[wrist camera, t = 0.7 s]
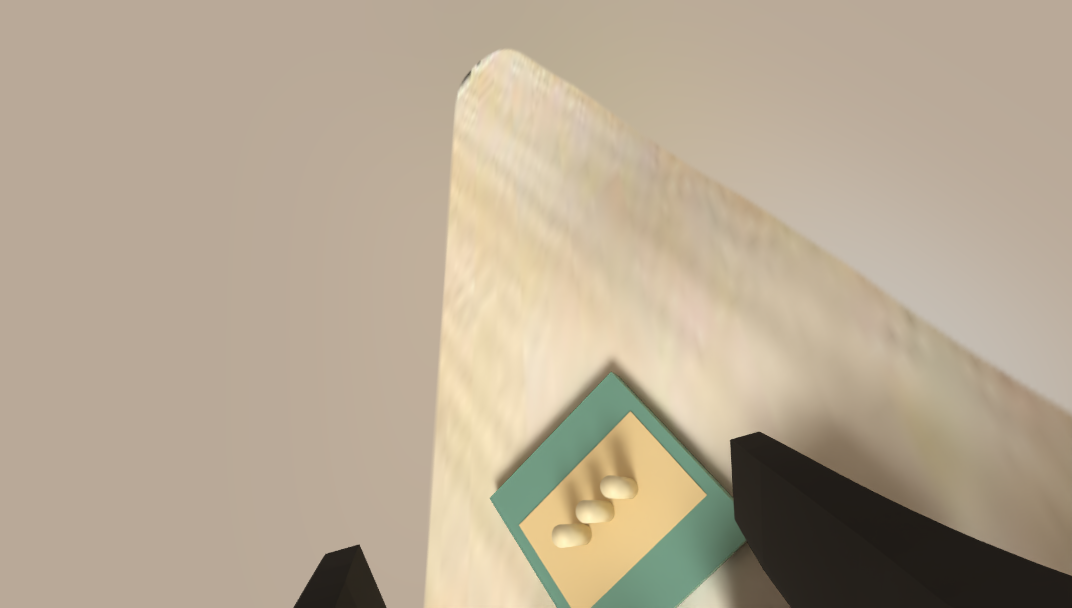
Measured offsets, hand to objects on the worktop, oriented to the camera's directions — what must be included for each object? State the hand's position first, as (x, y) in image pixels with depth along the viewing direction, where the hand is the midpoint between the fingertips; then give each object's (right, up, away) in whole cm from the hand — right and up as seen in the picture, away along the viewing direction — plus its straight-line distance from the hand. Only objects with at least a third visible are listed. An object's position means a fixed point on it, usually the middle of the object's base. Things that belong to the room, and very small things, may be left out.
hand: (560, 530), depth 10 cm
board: (+3, -5, +14) cm, 16 cm away
